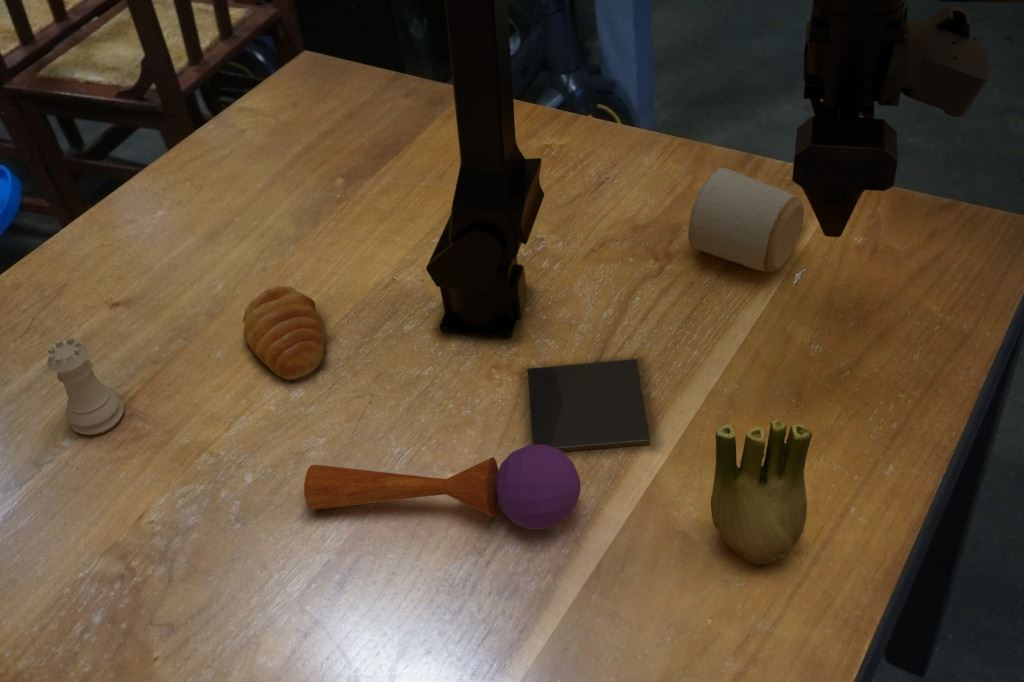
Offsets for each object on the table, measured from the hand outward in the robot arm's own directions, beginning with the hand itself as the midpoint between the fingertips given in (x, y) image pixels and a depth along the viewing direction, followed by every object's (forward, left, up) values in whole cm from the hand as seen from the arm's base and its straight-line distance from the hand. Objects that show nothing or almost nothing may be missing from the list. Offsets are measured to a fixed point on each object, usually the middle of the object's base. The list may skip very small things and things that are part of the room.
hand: (834, 197), depth 80 cm
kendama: (-26, -21, -15) cm, 37 cm away
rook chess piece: (-57, -17, -15) cm, 62 cm away
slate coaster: (-17, -10, -15) cm, 25 cm away
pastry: (-44, -6, -15) cm, 47 cm away
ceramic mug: (-6, +12, -15) cm, 20 cm away
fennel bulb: (-3, -21, -15) cm, 26 cm away
